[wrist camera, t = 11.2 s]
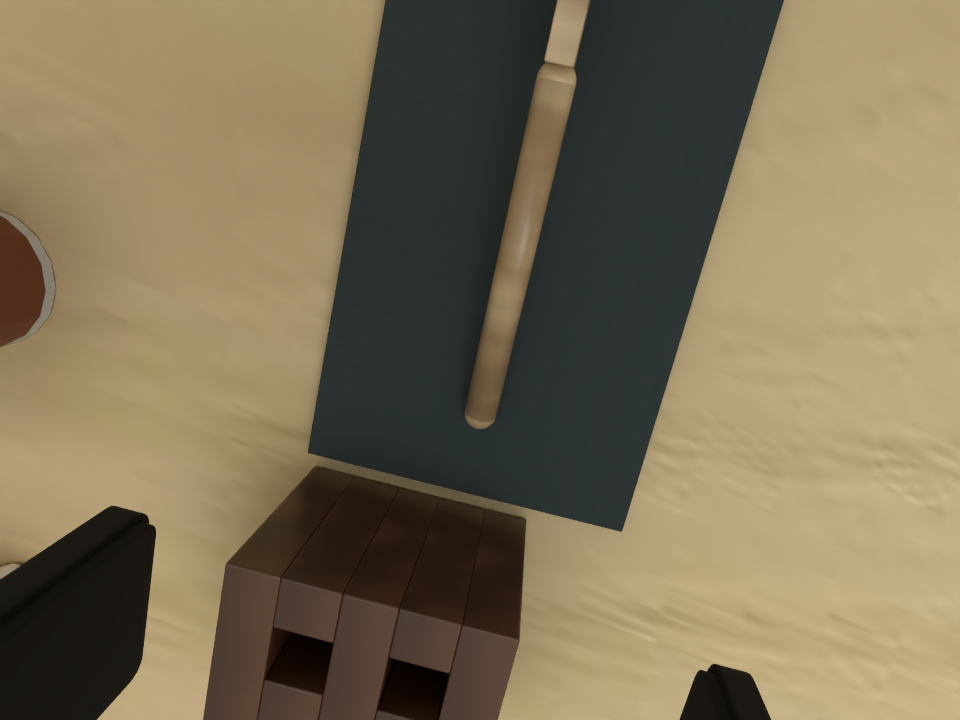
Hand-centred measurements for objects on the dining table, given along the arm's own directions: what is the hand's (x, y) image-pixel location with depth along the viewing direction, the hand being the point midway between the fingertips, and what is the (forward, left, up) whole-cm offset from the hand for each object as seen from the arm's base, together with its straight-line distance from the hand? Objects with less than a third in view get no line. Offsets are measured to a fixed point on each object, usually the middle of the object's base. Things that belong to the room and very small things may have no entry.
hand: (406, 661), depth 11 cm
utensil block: (+2, +11, -19) cm, 22 cm away
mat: (0, -7, -19) cm, 20 cm away
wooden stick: (0, +2, -18) cm, 18 cm away
